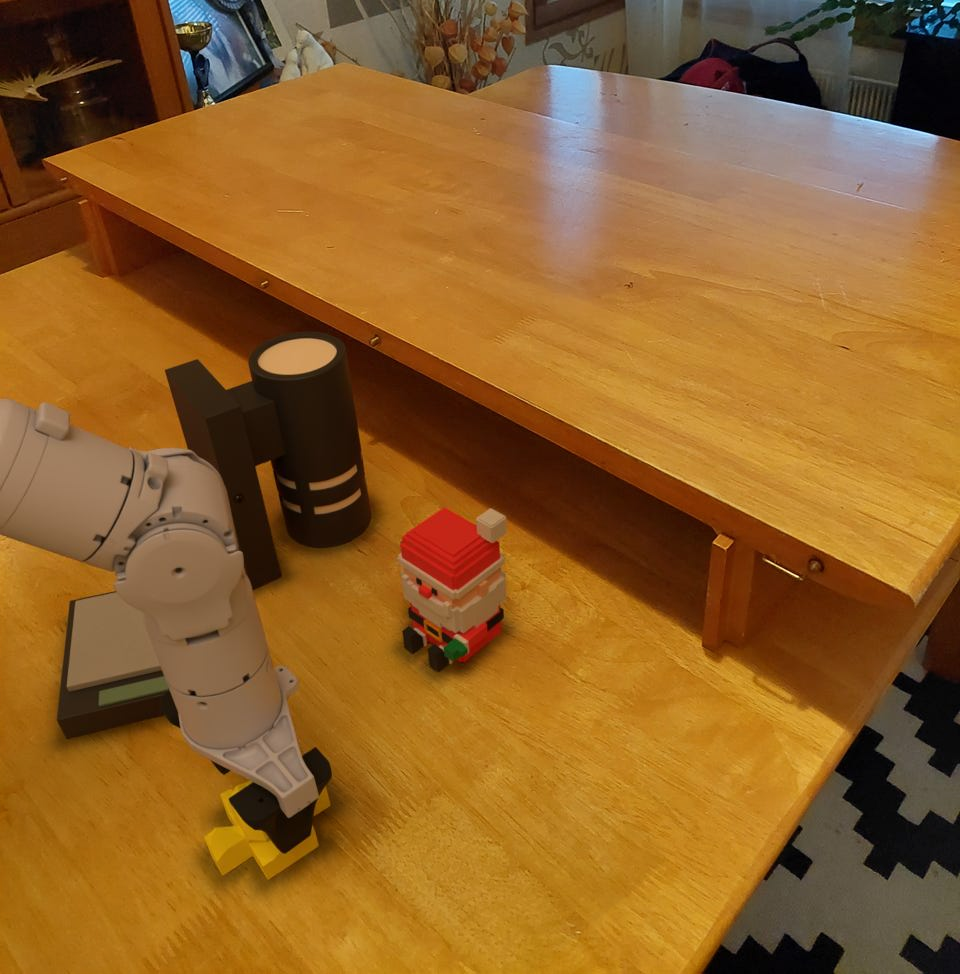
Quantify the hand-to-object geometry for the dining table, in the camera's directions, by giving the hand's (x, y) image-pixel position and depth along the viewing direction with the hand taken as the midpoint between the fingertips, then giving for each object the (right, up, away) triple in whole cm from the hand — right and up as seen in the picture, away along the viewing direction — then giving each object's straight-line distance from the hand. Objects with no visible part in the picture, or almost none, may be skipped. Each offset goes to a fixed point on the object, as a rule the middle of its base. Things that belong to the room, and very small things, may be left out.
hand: (263, 800), depth 60 cm
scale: (-13, +7, +16) cm, 22 cm away
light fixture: (-3, +16, +27) cm, 31 cm away
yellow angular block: (0, -3, +2) cm, 4 cm away
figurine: (+12, +8, +15) cm, 21 cm away
